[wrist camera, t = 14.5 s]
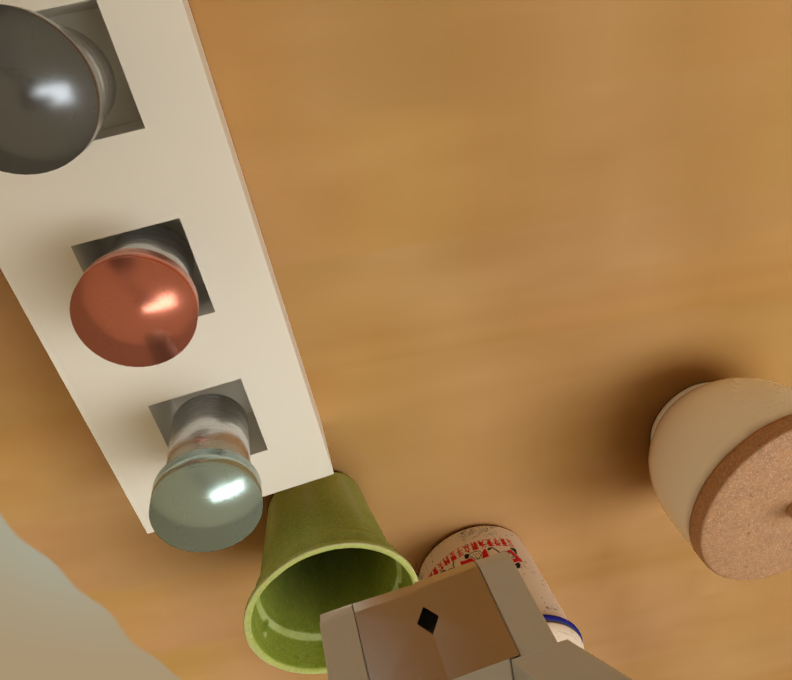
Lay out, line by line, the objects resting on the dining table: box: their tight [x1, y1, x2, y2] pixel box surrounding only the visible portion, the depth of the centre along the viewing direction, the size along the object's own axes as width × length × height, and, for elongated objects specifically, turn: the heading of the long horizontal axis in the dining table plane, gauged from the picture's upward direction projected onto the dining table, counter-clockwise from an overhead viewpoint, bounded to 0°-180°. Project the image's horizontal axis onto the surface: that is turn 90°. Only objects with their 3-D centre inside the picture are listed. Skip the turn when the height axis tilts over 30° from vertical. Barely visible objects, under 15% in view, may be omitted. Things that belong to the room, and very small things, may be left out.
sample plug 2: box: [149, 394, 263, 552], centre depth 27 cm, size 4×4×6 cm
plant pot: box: [244, 472, 419, 674], centre depth 36 cm, size 9×9×9 cm
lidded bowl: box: [649, 377, 792, 580], centre depth 40 cm, size 13×13×11 cm
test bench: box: [0, 0, 334, 534], centre depth 28 cm, size 26×10×5 cm, turn 11°
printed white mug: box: [418, 526, 584, 649], centre depth 41 cm, size 12×9×12 cm
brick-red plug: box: [70, 224, 199, 367], centre depth 25 cm, size 4×4×6 cm
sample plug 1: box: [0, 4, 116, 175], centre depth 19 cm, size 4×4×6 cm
